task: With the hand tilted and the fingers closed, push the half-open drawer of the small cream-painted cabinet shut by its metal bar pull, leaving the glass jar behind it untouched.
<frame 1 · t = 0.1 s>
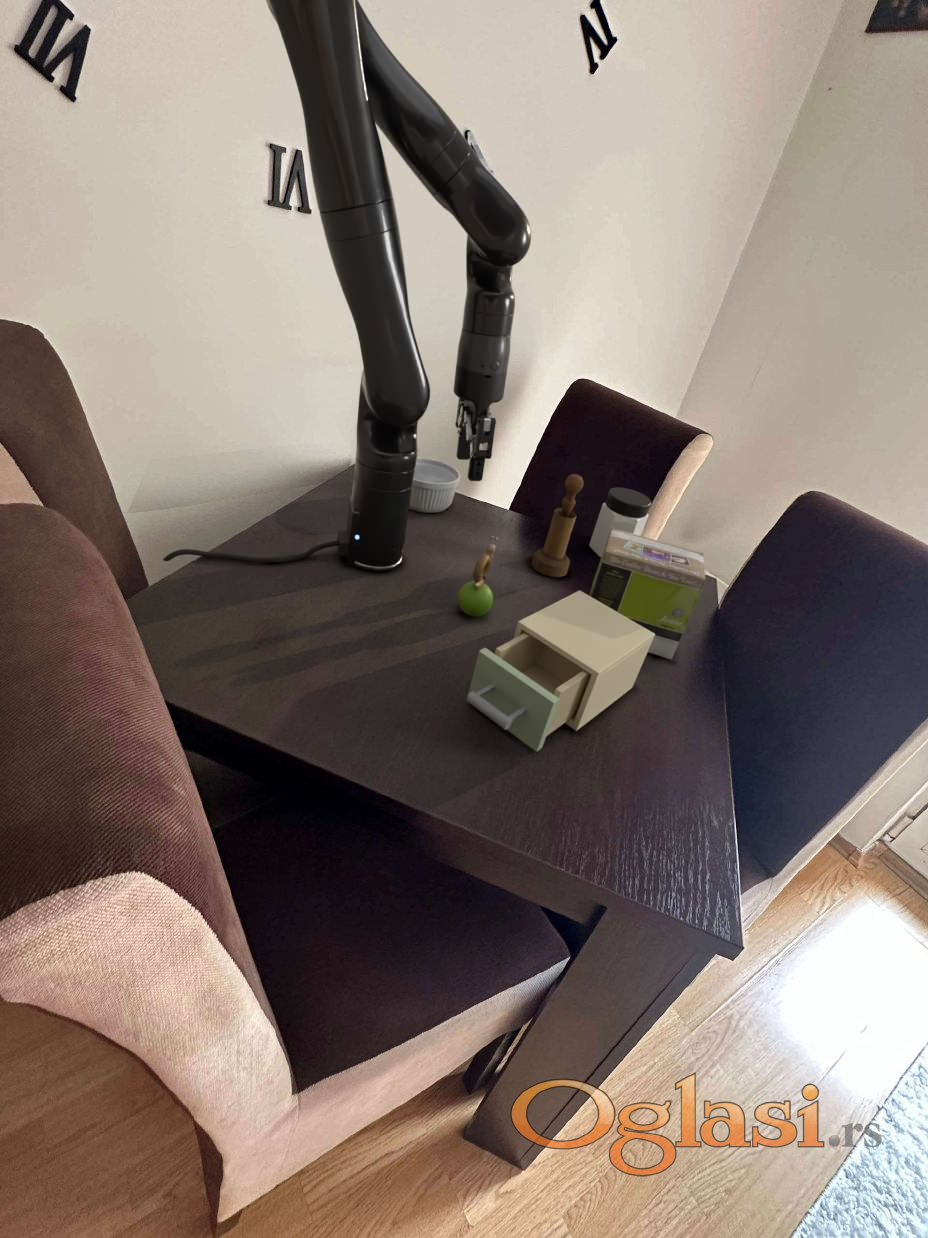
hand: (468, 469, 104), 17 cm above the table, tool pointing down, fingers open, 8 cm apart
cabinet: (568, 683, 91), on the table
ramekin: (422, 502, 132), on the table
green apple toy: (472, 612, 101), on the table
drawer: (530, 686, 81), point 5 cm above the table, slide at 7.0 cm
mortar and pestle: (548, 569, 118), on the table
jar: (610, 552, 129), on the table
tea box: (625, 632, 105), on the table
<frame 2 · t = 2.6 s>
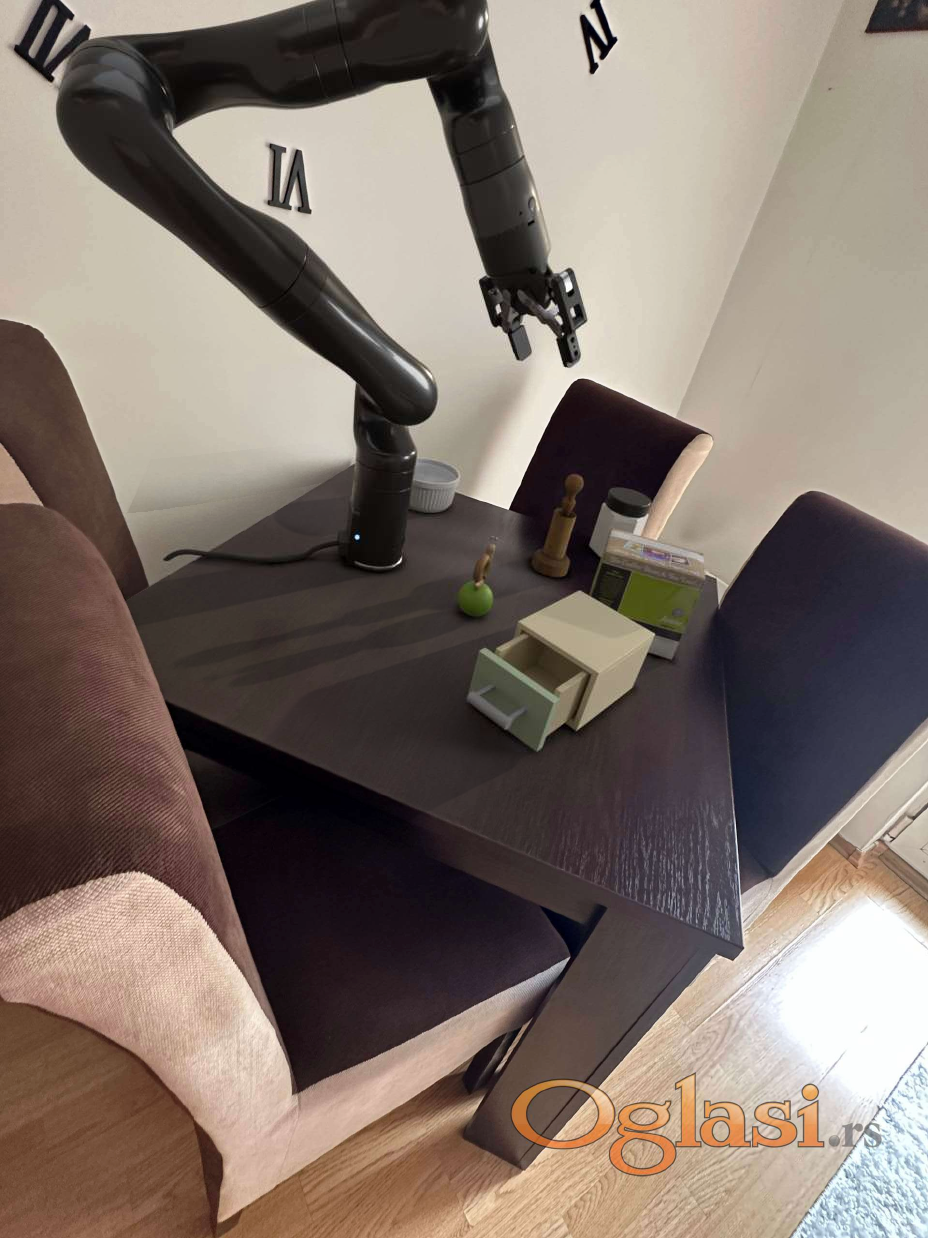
hand: (548, 360, 79), 39 cm above the table, tool tilted 35°, fingers open, 8 cm apart
nothing on the table moved.
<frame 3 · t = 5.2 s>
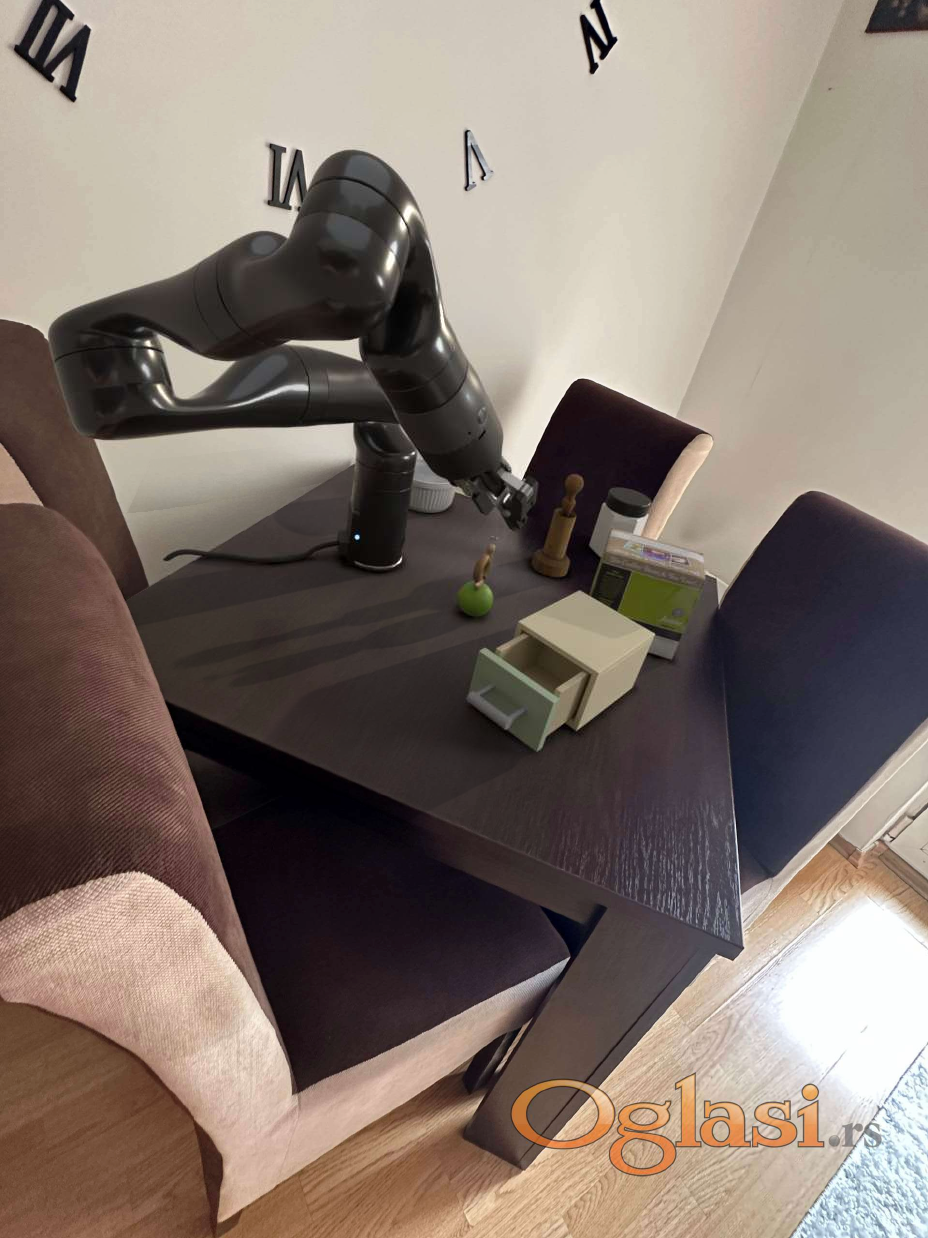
hand: (504, 515, 70), 26 cm above the table, tool tilted 45°, fingers open, 3 cm apart
nothing on the table moved.
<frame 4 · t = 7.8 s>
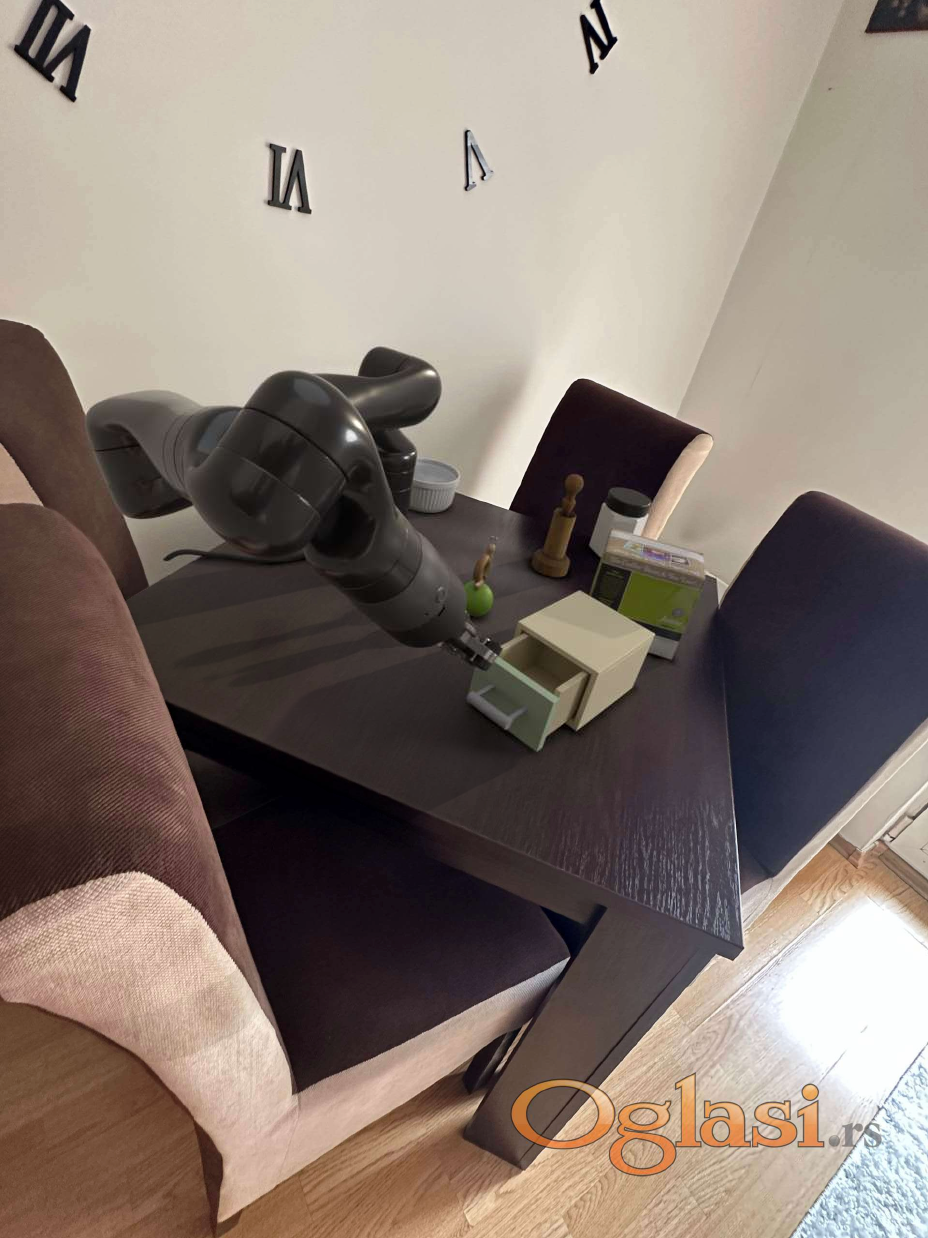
hand: (474, 655, 66), 15 cm above the table, tool tilted 45°, fingers closed
nothing on the table moved.
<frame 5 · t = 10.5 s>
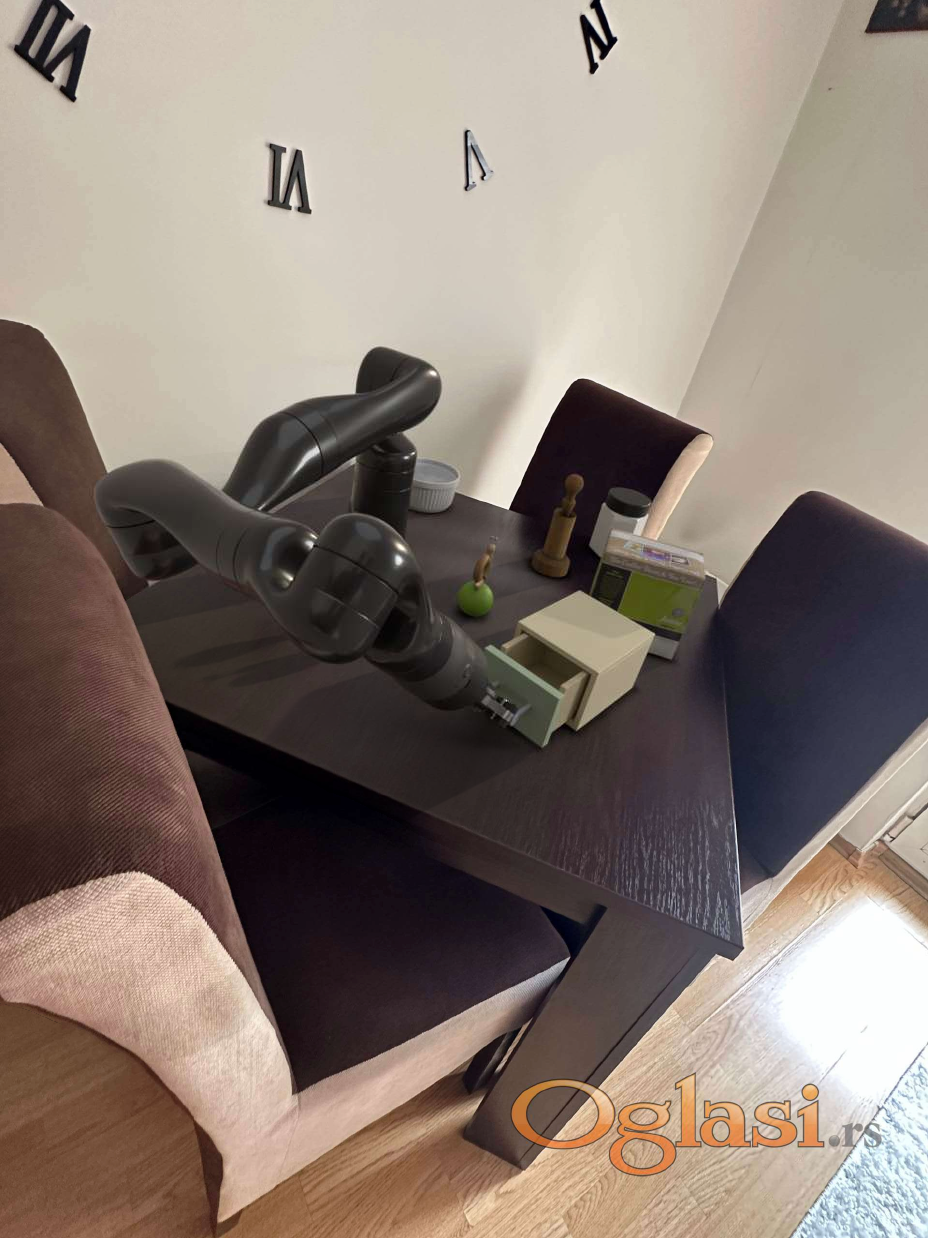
hand: (492, 706, 75), 6 cm above the table, tool tilted 45°, fingers closed
drawer: (535, 683, 81), point 5 cm above the table, slide at 5.9 cm, touching gripper
everything else where it was.
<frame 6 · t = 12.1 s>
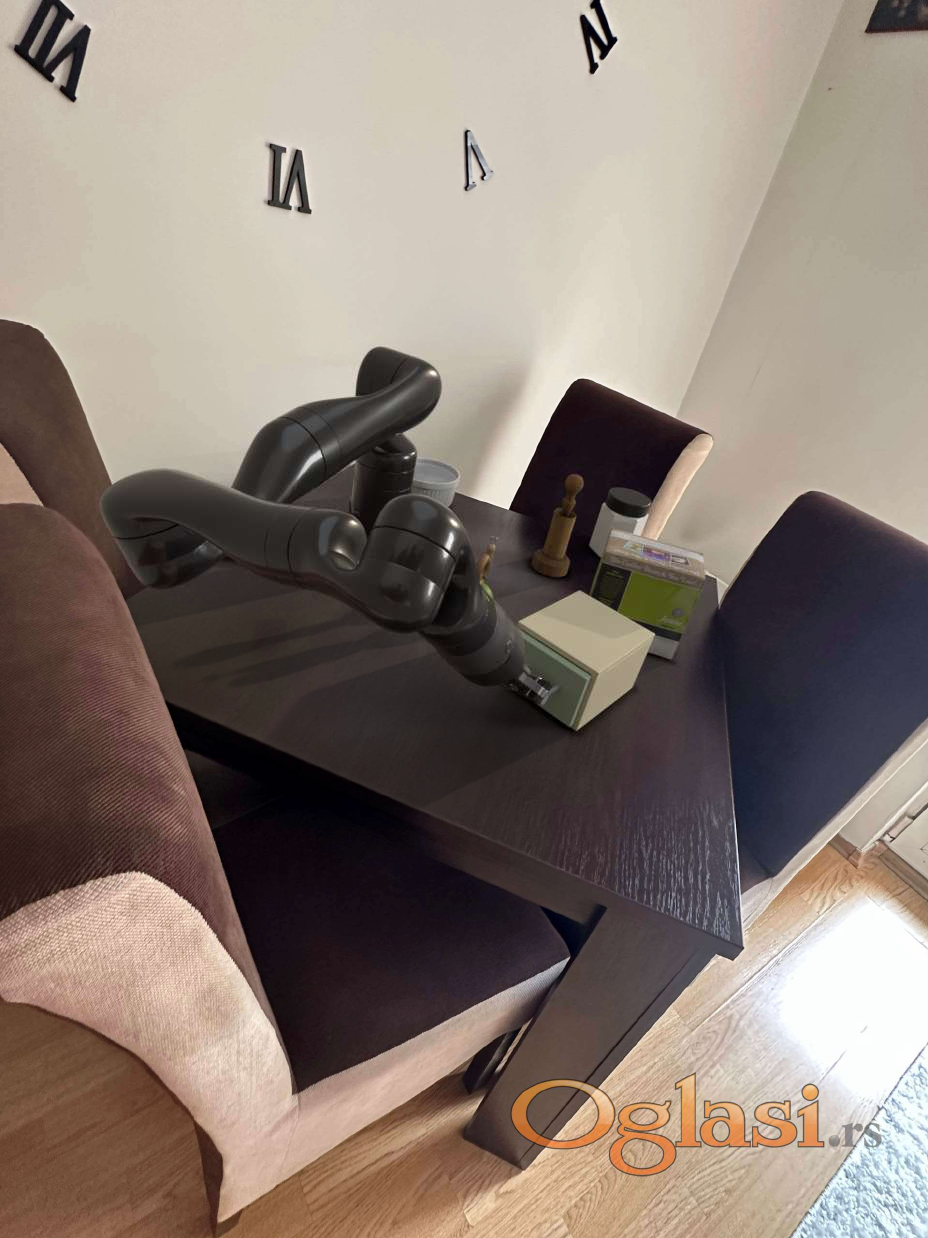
hand: (522, 686, 79), 6 cm above the table, tool tilted 45°, fingers closed
drawer: (561, 666, 85), point 5 cm above the table, slide at 0.0 cm, touching cabinet, gripper
everything else where it was.
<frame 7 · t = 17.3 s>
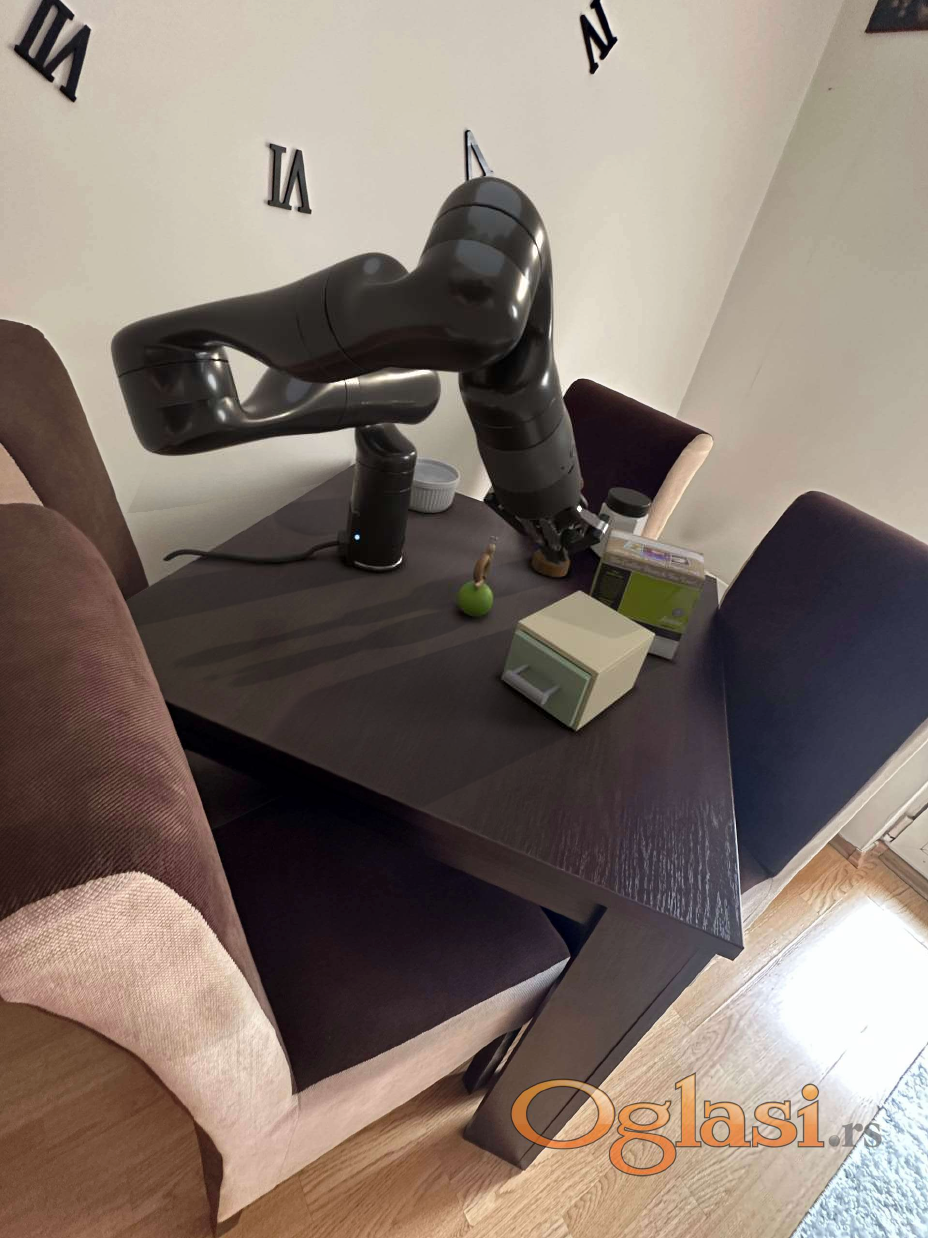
hand: (558, 556, 68), 24 cm above the table, tool tilted 40°, fingers closed
drawer: (561, 666, 85), point 5 cm above the table, slide at 0.0 cm, touching cabinet
everything else where it was.
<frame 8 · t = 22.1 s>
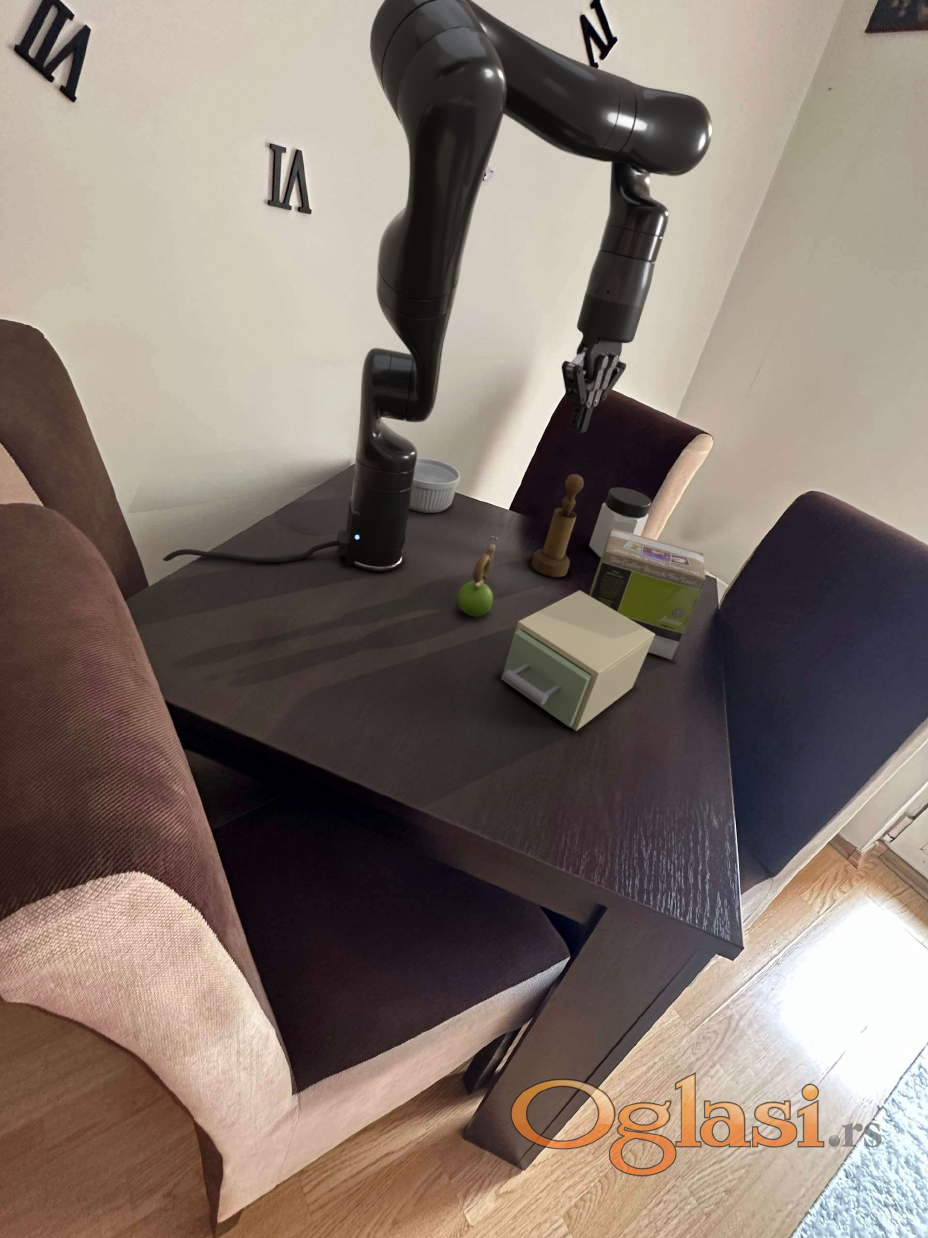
hand: (576, 431, 91), 29 cm above the table, tool pointing down, fingers closed
nothing on the table moved.
at the end: drawer slide at 0.0 cm; jar moved 0.2 cm from its start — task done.
